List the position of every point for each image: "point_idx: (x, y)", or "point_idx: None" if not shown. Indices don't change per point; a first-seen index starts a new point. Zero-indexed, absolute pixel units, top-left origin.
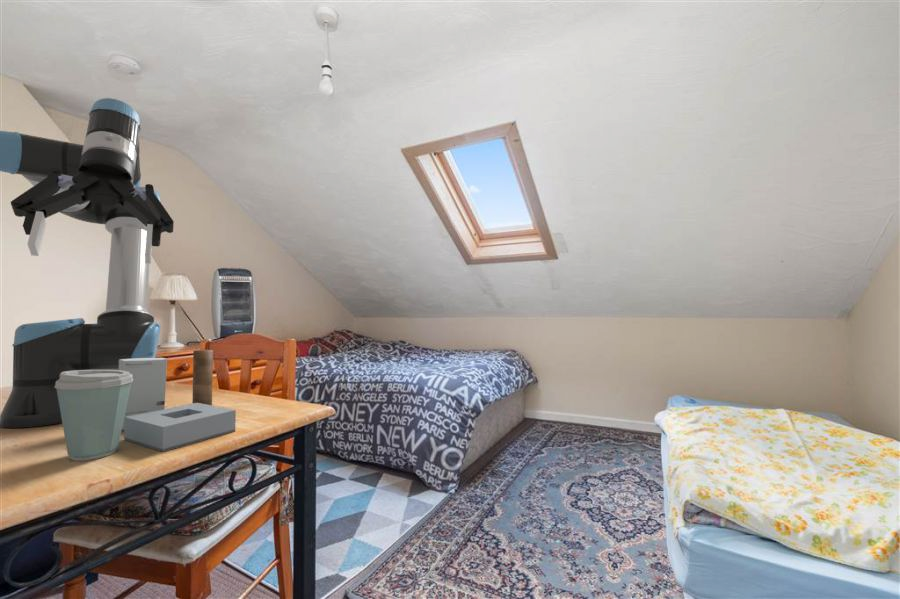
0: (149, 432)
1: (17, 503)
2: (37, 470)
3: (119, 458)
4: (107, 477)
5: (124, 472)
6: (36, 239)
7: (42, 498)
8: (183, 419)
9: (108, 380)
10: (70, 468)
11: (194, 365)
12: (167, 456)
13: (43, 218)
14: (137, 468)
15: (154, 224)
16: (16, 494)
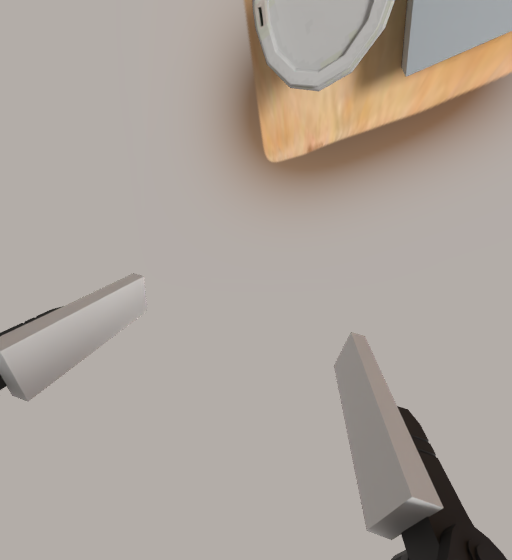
0: (410, 8)
1: (269, 155)
2: None
3: None
4: (322, 138)
5: (337, 133)
6: (134, 317)
7: (281, 157)
8: (471, 20)
9: (329, 82)
10: None
11: None
12: (391, 100)
13: (39, 374)
14: (349, 128)
15: (406, 553)
16: (266, 130)
